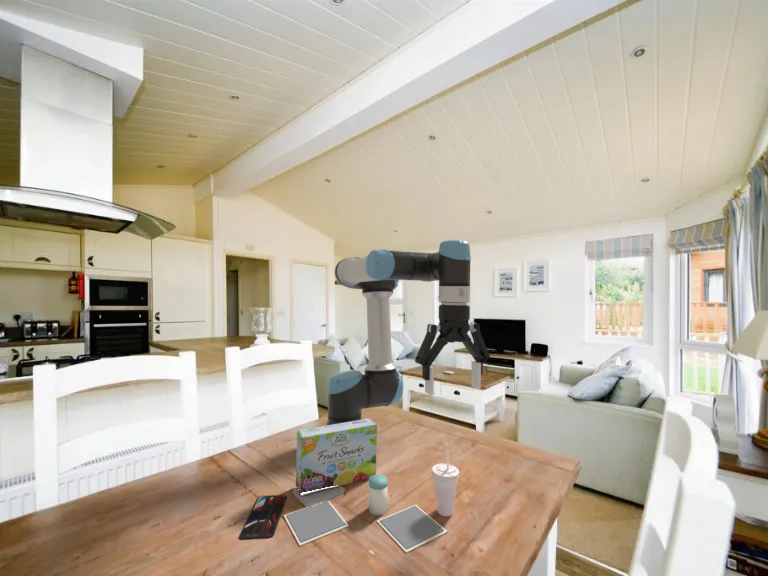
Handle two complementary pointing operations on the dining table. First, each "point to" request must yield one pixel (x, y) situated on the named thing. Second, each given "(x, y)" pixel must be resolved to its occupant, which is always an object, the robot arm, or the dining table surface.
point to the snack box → (336, 454)
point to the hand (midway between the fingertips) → (453, 390)
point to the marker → (378, 495)
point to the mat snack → (314, 522)
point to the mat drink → (411, 528)
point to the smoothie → (445, 486)
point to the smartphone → (263, 517)
